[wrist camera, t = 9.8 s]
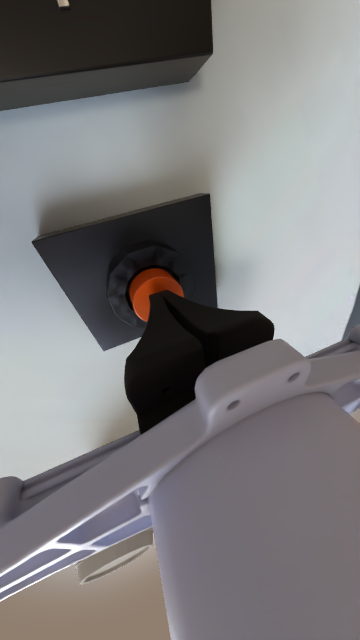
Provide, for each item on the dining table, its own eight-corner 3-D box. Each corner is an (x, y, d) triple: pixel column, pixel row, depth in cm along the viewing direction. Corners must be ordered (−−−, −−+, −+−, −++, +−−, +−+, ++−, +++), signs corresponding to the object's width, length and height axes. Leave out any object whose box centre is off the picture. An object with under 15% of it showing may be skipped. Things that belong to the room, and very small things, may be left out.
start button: (138, 317, 15) (142, 330, 14) (121, 277, 13) (124, 287, 11) (179, 302, 15) (187, 313, 14) (170, 261, 13) (179, 269, 12)
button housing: (103, 340, 19) (104, 365, 16) (37, 236, 12) (20, 249, 10) (210, 300, 21) (227, 316, 18) (199, 193, 14) (223, 194, 12)
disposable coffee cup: (110, 436, 28) (116, 554, 19) (150, 443, 34) (170, 536, 25) (67, 470, 30) (54, 597, 20) (113, 471, 36) (119, 570, 26)
